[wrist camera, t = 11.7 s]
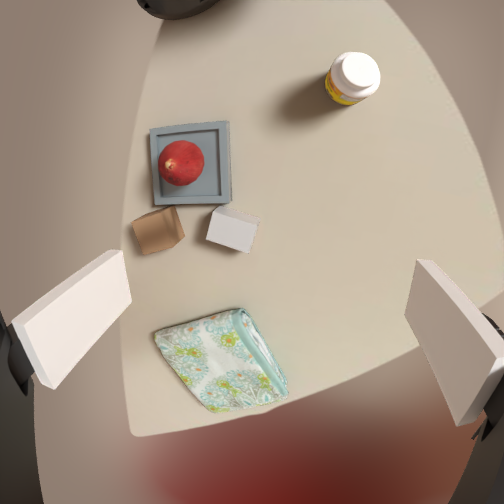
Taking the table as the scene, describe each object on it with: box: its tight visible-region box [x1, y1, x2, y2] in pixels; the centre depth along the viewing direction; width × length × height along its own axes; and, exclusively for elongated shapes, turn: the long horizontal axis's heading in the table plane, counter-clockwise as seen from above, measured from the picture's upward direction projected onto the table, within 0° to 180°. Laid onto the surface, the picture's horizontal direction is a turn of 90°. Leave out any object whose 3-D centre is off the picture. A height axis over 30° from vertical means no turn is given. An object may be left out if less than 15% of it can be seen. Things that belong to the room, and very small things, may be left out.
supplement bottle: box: [325, 52, 380, 105], centre depth 28 cm, size 6×6×10 cm
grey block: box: [206, 205, 261, 254], centre depth 40 cm, size 4×6×4 cm, turn 73°
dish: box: [150, 121, 232, 205], centre depth 39 cm, size 11×11×2 cm
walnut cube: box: [131, 205, 185, 255], centre depth 41 cm, size 5×5×5 cm
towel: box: [154, 308, 289, 413], centre depth 49 cm, size 18×21×5 cm
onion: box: [158, 140, 204, 186], centre depth 35 cm, size 6×6×8 cm
